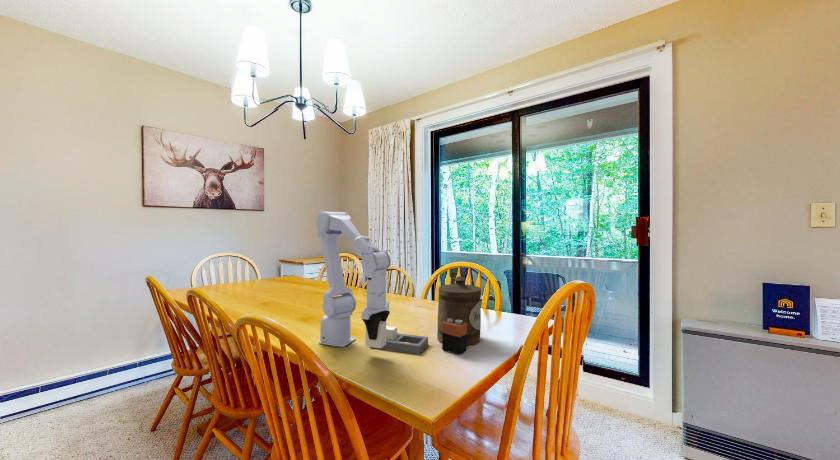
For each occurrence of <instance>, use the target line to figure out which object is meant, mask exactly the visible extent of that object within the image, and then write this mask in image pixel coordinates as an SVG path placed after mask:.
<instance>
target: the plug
mask: <svg viewBox="0 0 840 460" xmlns="http://www.w3.org/2000/svg"><path fill="white" fill-rule="evenodd" d="M386 326H387V320H386V321H380V323H379V327H378V334H377V339H376V340H371V339H369V336H368V332H367V328H366V327H365V347H368V348H372V347H374V348H373V349H379V348H382V347H383V346H385V345H386Z"/></svg>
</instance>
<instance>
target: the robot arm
mask: <svg viewBox="0 0 840 460" xmlns="http://www.w3.org/2000/svg"><path fill="white" fill-rule="evenodd" d="M315 223H316V229H317V235H318V237H319V238H320V243H321V248H322V249H321V250H322V255H323V260H324V266H325V271H326V277H327V284H328V289H327V290H326V291H325V292H324V294H323V295H322V300H323V301H322V309H323V313H324V314H325V315H323V316H322V318H321V321H320V327H319V329H320V332H319V333H320V339H319V340H320V341H319V342H318V343H319V344H320V345H326V346H333V347H340V348H344V347H346V346H347V345H349V344H351V343H353V342H355V340H356V337H351V330H352V329H351V324H352V323H351V318H352V317H351V316H352V315H353V313H354V311H355V310H356V306H357V300H356V298H355V296H354V294H353V293H354V292H353V289H351V288H350V287H348V286H347V285H346V283H345V278H344V273H343V268H342V261H341V256H340V251H339V244H338V240H339V239H340V238H341V237H343V235H344V237H346V238H347V239H348V240H349V241H350V242H351V243H352V250H354V252H355V253H356V254H357V255H358V256H359V258H360V259H361V260H362V266H363V269H364V271H365V272H364V275H365V278H366V306H365V308H364V310H362V311H361V320H362V321H363V323H364V325H365V329H366V328H367V332H368V336H369V339H371V340H376V339H377V334H378V327H379V323H380V321H386V322H387V319H388V317H389V315H390V313H391V311H390V301H387V270H389V268H390V266H391V257H390V255H389V253H388V252H387V251H385V250H381V249H379V247H378V246H376V244H374V242H372V240H371V238H370V237H369V236H368V235H361V233H360V232H359V231H358V229H357V227H356V226H355V225H354V224H353V222H352V217H351V216H350V215H349V213H348V212H346V211H341V212H340V211H327V210H321V211H320V212H319V213H318V216H317V218H316V222H315Z"/></svg>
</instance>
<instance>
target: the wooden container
mask: <svg viewBox="0 0 840 460" xmlns="http://www.w3.org/2000/svg"><path fill="white" fill-rule="evenodd" d="M454 282H455V283H449V284H441V285H440V286H439V287H438V301H437V302H438V304H437V331H436V332H437V333H436V334H437V336H436V337H437V341H439V343H441V344H442V326H443V322H444V321H447V320H448V318H452V320H462V322H464V323H466V324H467V347H473V346H476V345H478V344H479V343H480V342H481V327H482V326H481V322H482V321H481V319H482V317H481V312H482V311H481V306H482V305H481V304H482V303H481V300H482V299H481V298H482V297H481V296H482V288H481V287H479V286H478V285H473V284H466V283H465V278H464V277H463V276H456V277H455V278H454Z"/></svg>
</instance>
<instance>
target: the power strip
mask: <svg viewBox="0 0 840 460" xmlns="http://www.w3.org/2000/svg"><path fill="white" fill-rule="evenodd" d="M427 346H429V337H428V336H425V335H424V336H423V335H417V334H416V335H414V334H406V333H400V332H398V326H392V325H386V345H385V346H383V347H382V348H378V349H381V350H385V351H386V350H388V351H393V352H394V351H395V352H400V353H401V352H402V353H408V354H415V355H420V354H421V353H422V352H423V351H424V350H425V348H426V347H427ZM371 348H373V349H375V348H374V347H371Z"/></svg>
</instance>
